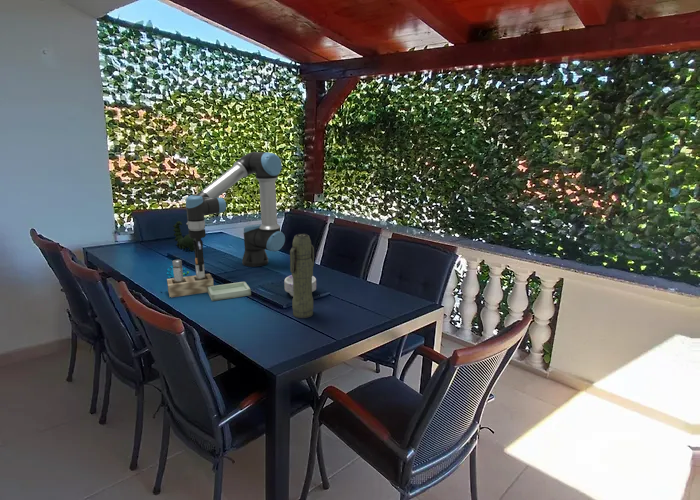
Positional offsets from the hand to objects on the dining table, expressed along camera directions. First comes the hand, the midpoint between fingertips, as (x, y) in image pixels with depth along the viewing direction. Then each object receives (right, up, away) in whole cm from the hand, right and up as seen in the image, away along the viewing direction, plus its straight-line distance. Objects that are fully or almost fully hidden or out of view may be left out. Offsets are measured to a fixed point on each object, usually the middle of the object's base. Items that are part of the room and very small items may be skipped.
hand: (200, 275), depth 205 cm
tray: (+15, -9, -3) cm, 17 cm away
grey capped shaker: (-9, -8, -2) cm, 12 cm away
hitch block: (-5, -7, 0) cm, 9 cm away
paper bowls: (+49, -9, -2) cm, 50 cm away
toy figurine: (-34, +13, +72) cm, 80 cm away
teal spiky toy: (-17, -3, +15) cm, 23 cm away
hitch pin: (0, -7, +2) cm, 7 cm away
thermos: (+53, -15, -24) cm, 60 cm away
